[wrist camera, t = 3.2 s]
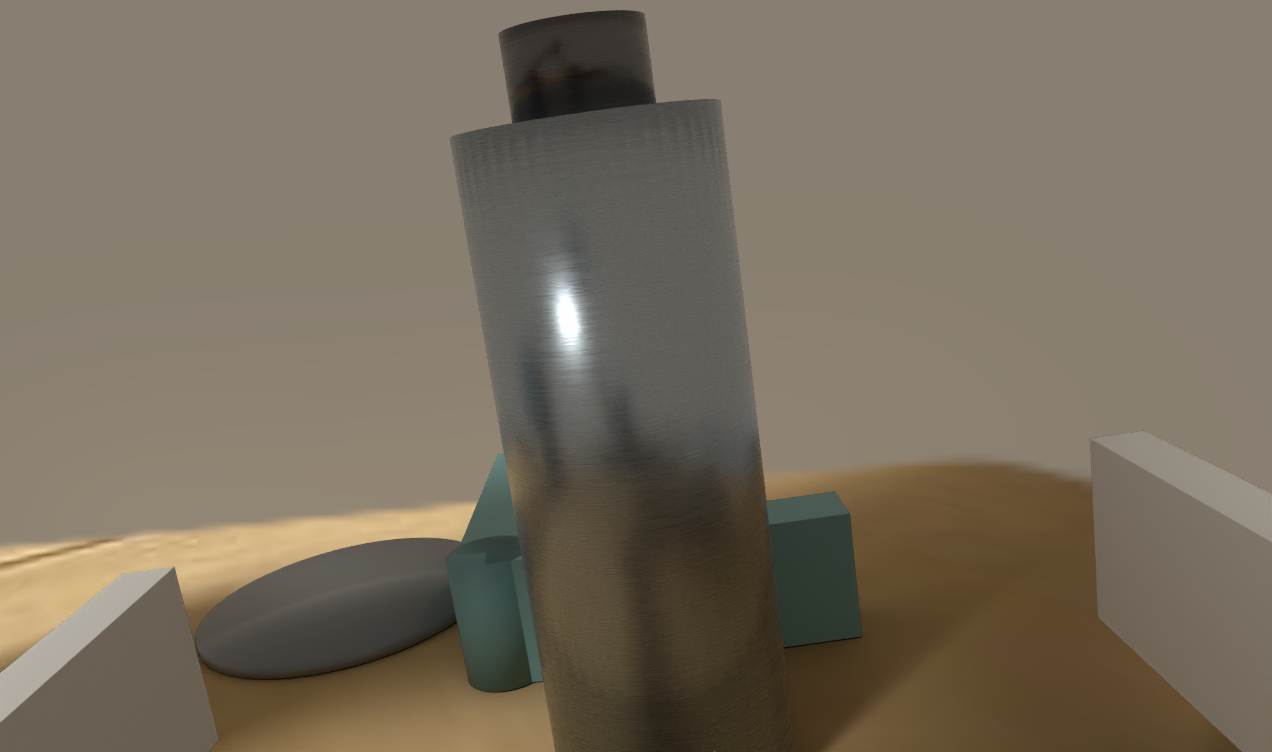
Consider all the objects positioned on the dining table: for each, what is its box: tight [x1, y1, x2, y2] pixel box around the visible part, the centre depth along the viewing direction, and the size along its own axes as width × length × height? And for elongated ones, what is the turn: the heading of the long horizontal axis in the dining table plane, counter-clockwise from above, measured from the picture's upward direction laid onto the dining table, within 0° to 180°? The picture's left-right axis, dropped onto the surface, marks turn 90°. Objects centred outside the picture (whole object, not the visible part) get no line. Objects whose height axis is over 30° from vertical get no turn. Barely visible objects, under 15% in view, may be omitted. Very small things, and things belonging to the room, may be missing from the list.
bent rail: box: [445, 453, 862, 692], centre depth 35 cm, size 12×12×4 cm
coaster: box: [195, 538, 461, 679], centre depth 38 cm, size 11×11×1 cm
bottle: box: [450, 10, 795, 752], centre depth 23 cm, size 6×6×18 cm
